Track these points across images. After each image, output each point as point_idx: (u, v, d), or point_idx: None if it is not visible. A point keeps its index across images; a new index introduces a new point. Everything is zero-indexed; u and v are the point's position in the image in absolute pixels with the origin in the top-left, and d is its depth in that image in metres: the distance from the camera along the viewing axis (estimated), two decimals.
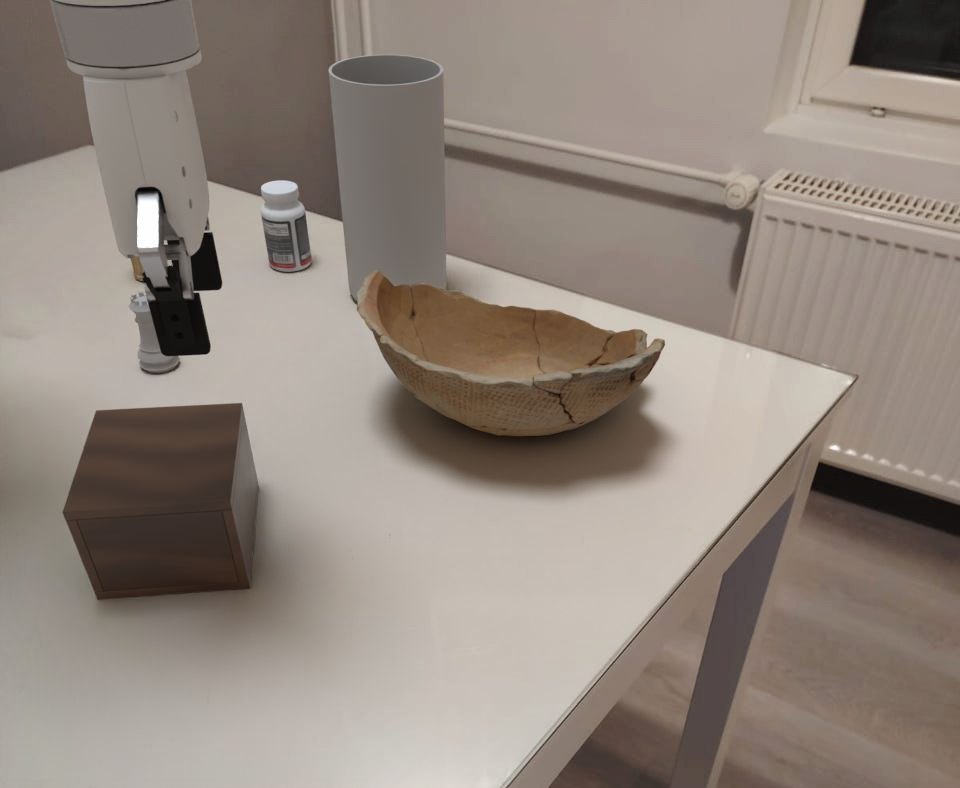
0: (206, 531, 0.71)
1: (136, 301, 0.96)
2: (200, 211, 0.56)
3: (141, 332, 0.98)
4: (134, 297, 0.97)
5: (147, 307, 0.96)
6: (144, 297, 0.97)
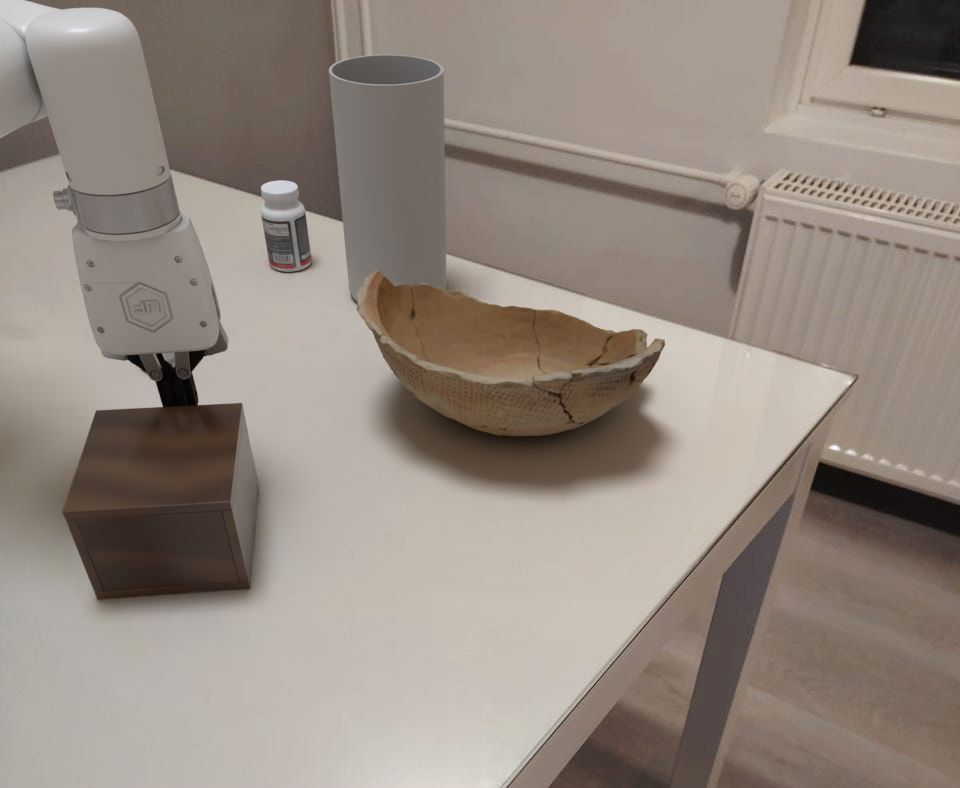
0: (206, 531, 0.71)
1: None
2: None
3: None
4: None
5: None
6: None
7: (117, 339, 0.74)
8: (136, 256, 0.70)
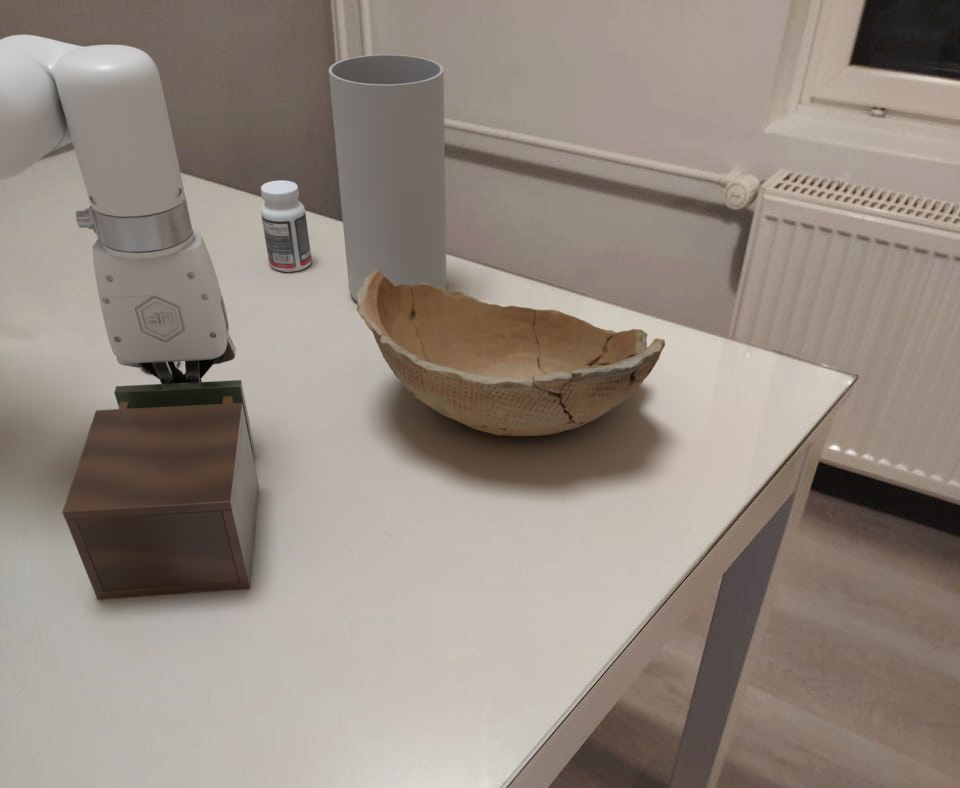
0: (206, 531, 0.71)
1: None
2: None
3: None
4: None
5: None
6: None
7: (132, 348, 0.80)
8: (152, 272, 0.75)
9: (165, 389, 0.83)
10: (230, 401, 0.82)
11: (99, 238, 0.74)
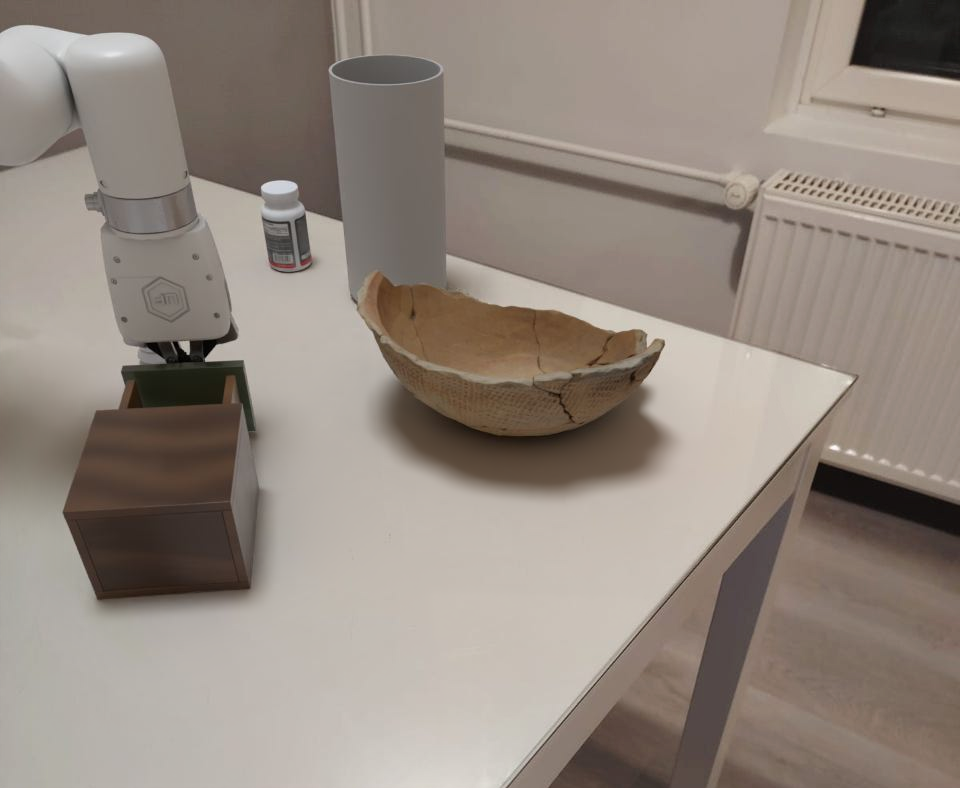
0: (206, 531, 0.71)
1: None
2: None
3: None
4: None
5: None
6: None
7: (138, 328, 0.82)
8: (158, 254, 0.78)
9: (170, 368, 0.85)
10: (233, 380, 0.84)
11: (107, 220, 0.77)
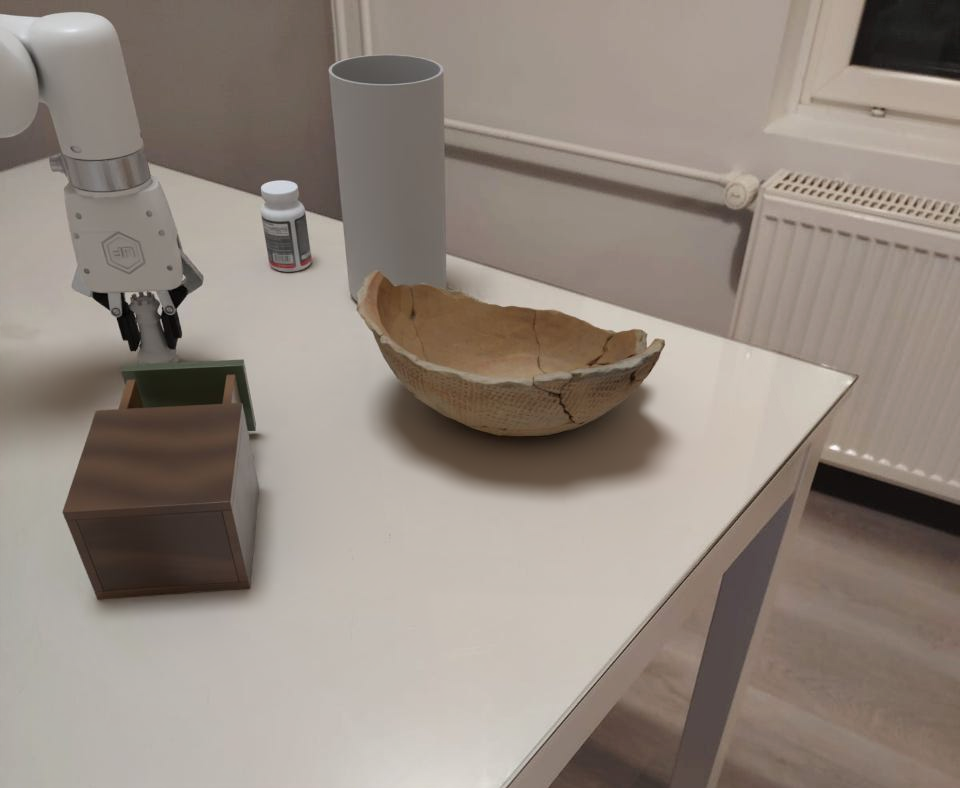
0: (206, 531, 0.71)
1: (136, 301, 0.96)
2: None
3: (141, 332, 0.98)
4: (134, 297, 0.97)
5: (147, 307, 0.96)
6: (144, 297, 0.97)
7: (100, 279, 0.92)
8: (115, 210, 0.87)
9: (170, 368, 0.85)
10: (233, 379, 0.84)
11: (69, 180, 0.86)
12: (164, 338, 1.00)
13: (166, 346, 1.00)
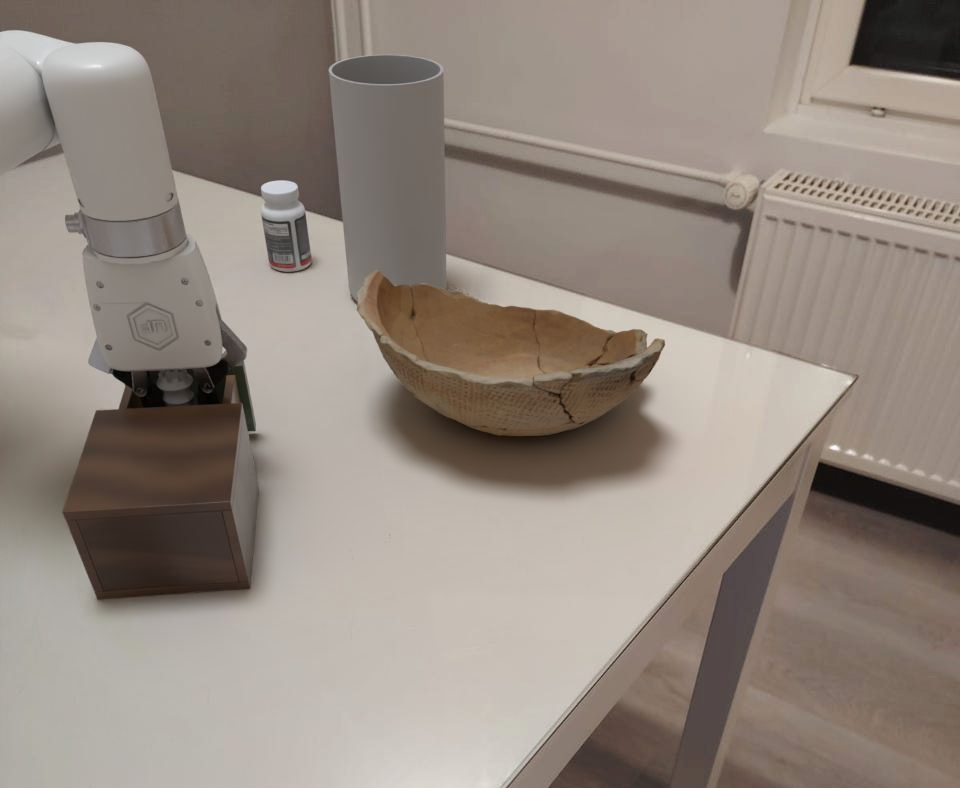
0: (206, 531, 0.71)
1: (165, 378, 0.81)
2: None
3: None
4: (162, 372, 0.82)
5: (178, 385, 0.81)
6: (174, 372, 0.82)
7: (124, 356, 0.77)
8: (144, 278, 0.72)
9: None
10: (233, 379, 0.84)
11: (89, 243, 0.71)
12: None
13: None
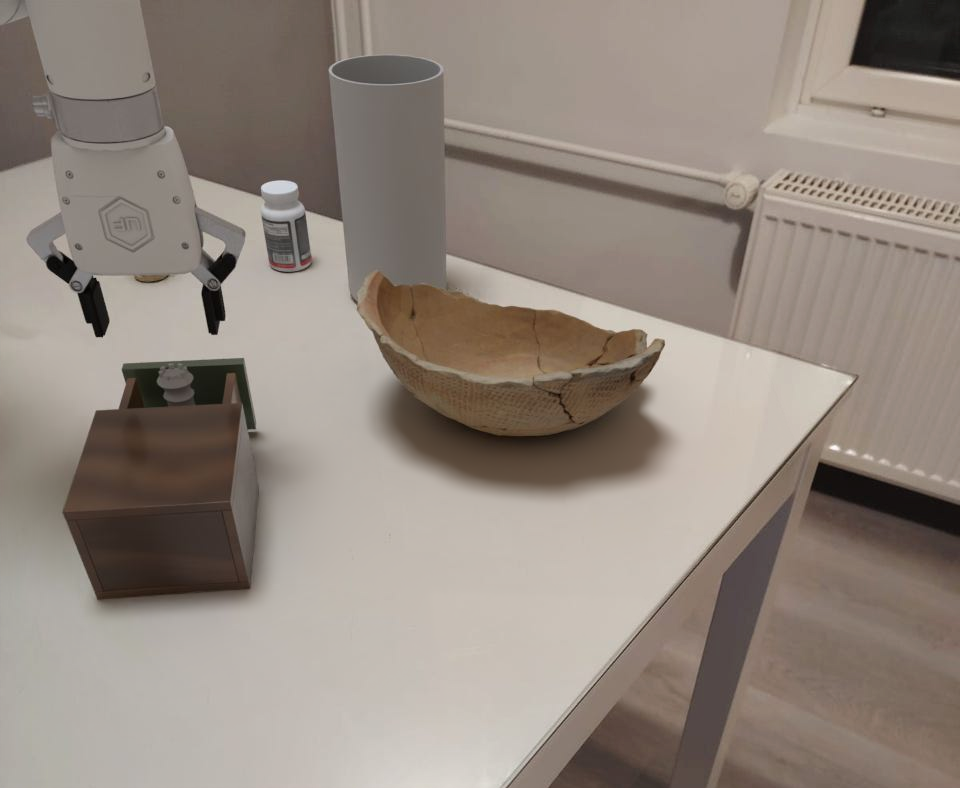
0: (206, 531, 0.71)
1: (166, 376, 0.81)
2: None
3: None
4: (163, 370, 0.82)
5: (179, 383, 0.81)
6: (175, 370, 0.82)
7: (95, 258, 0.72)
8: (117, 169, 0.68)
9: None
10: (233, 377, 0.85)
11: (58, 127, 0.66)
12: None
13: None
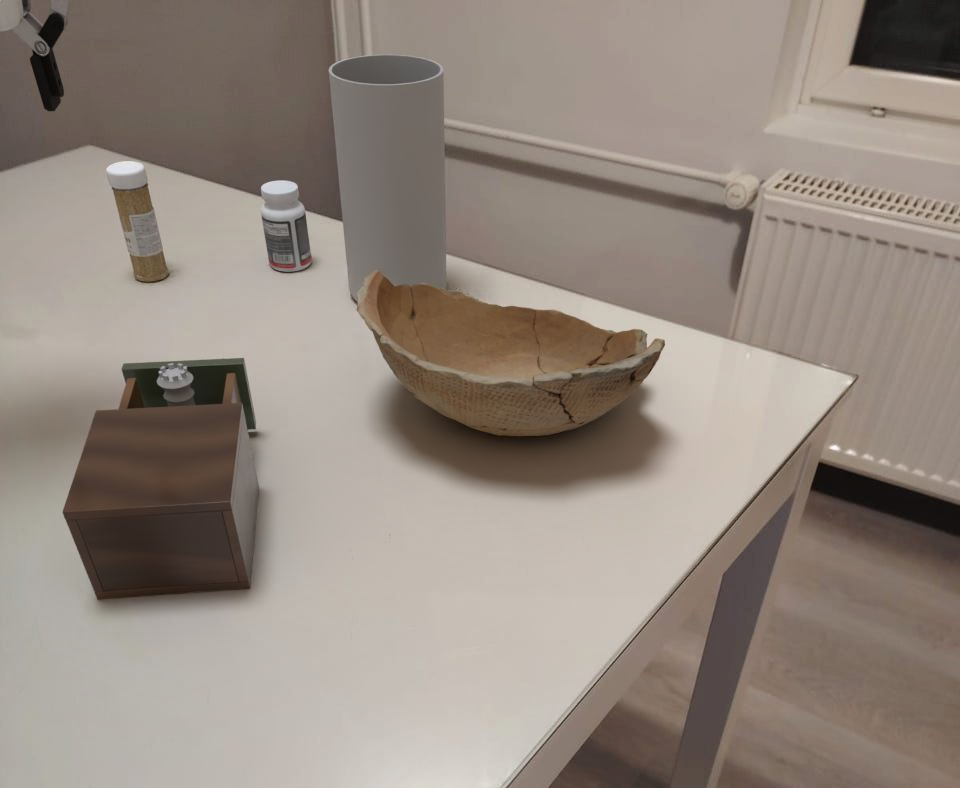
0: (206, 531, 0.71)
1: (166, 376, 0.81)
2: None
3: None
4: (163, 370, 0.82)
5: (179, 383, 0.81)
6: (175, 370, 0.82)
7: None
8: None
9: None
10: (233, 377, 0.85)
11: None
12: None
13: None
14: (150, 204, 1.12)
